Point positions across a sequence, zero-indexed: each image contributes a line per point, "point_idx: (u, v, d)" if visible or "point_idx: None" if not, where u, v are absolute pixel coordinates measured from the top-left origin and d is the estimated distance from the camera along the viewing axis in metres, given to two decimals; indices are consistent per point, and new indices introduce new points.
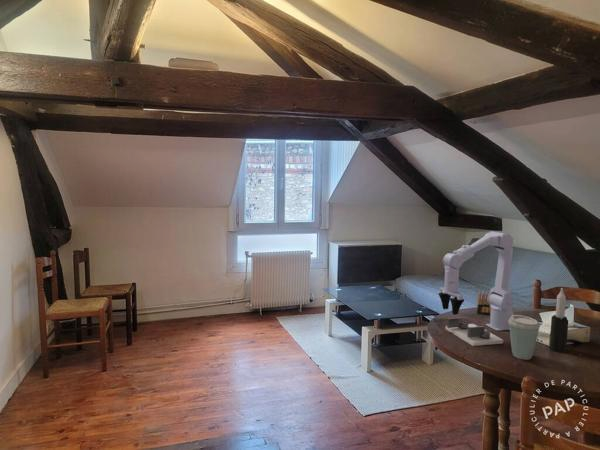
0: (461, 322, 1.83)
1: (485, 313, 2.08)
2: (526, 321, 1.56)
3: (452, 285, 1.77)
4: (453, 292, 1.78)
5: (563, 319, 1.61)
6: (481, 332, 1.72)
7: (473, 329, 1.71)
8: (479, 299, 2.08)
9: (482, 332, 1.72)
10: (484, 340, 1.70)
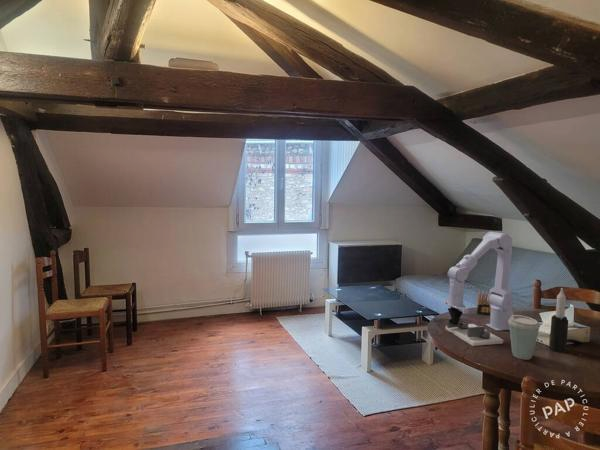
0: (461, 322, 1.83)
1: (485, 313, 2.08)
2: (526, 321, 1.56)
3: (458, 298, 1.78)
4: (458, 305, 1.78)
5: (563, 319, 1.61)
6: (481, 332, 1.72)
7: (473, 329, 1.71)
8: (479, 299, 2.08)
9: (482, 332, 1.72)
10: (484, 340, 1.70)
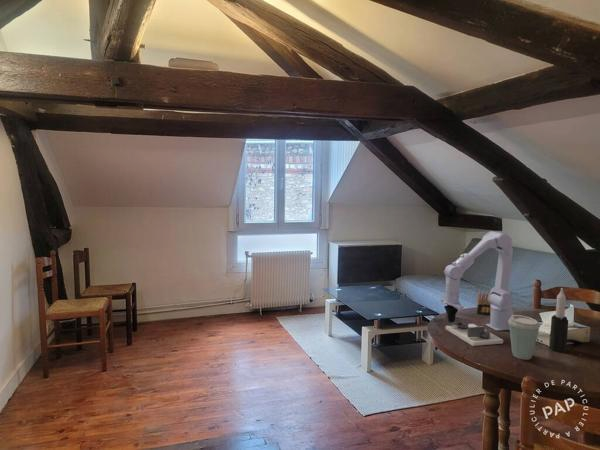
0: (459, 321, 1.84)
1: (485, 313, 2.08)
2: (526, 321, 1.56)
3: (453, 296, 1.81)
4: (454, 303, 1.81)
5: (563, 319, 1.61)
6: (481, 332, 1.72)
7: (473, 329, 1.71)
8: (479, 299, 2.08)
9: (482, 332, 1.72)
10: (484, 340, 1.70)
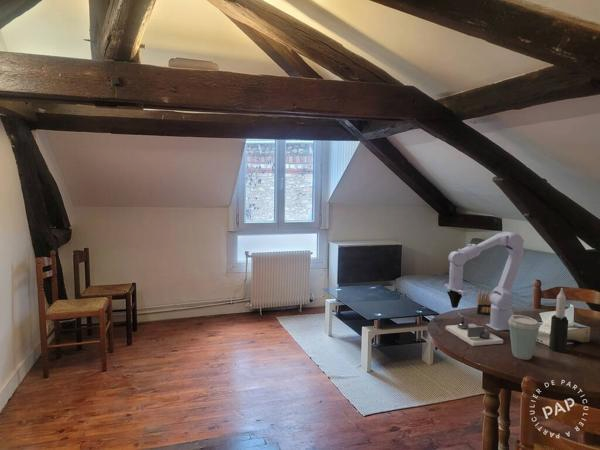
0: (460, 320, 1.86)
1: (485, 313, 2.08)
2: (526, 321, 1.56)
3: (457, 281, 1.85)
4: (457, 288, 1.85)
5: (563, 319, 1.61)
6: (481, 332, 1.72)
7: (473, 329, 1.71)
8: (479, 299, 2.08)
9: (482, 332, 1.72)
10: (484, 340, 1.70)
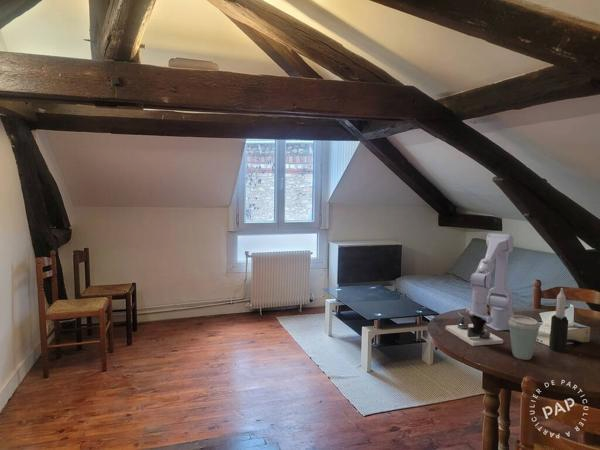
0: (460, 320, 1.86)
1: None
2: (526, 321, 1.56)
3: (481, 306, 1.67)
4: (482, 314, 1.67)
5: (563, 319, 1.61)
6: (481, 332, 1.72)
7: (473, 329, 1.71)
8: None
9: (482, 332, 1.72)
10: (484, 340, 1.70)
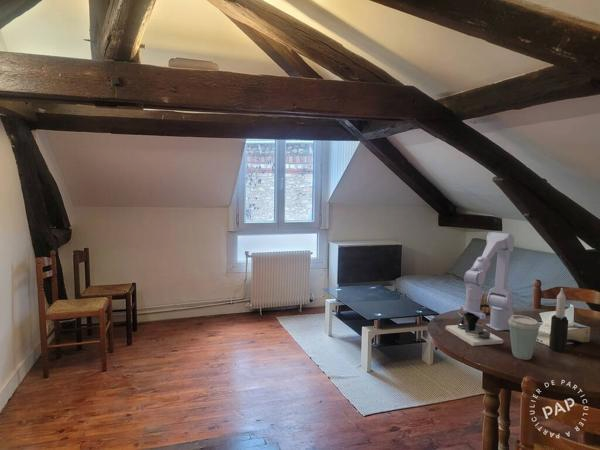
0: (460, 320, 1.86)
1: (485, 313, 2.08)
2: (526, 321, 1.56)
3: (474, 303, 1.70)
4: (475, 310, 1.70)
5: (563, 319, 1.61)
6: (479, 331, 1.74)
7: None
8: None
9: (480, 331, 1.73)
10: (484, 340, 1.70)
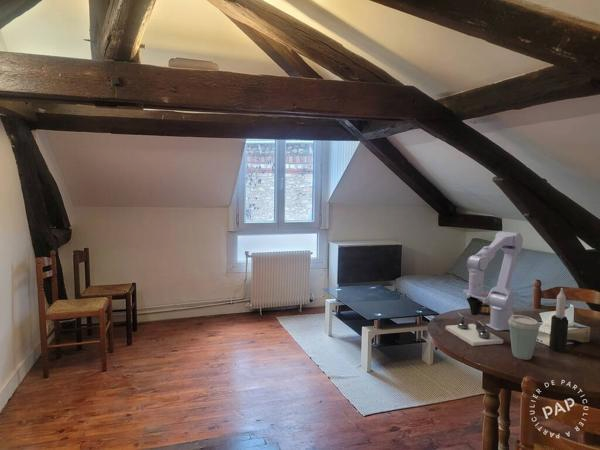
0: (460, 320, 1.86)
1: (485, 313, 2.08)
2: (526, 321, 1.56)
3: (477, 287, 1.74)
4: (478, 295, 1.74)
5: (563, 319, 1.61)
6: (481, 330, 1.75)
7: (477, 323, 1.79)
8: None
9: (481, 330, 1.75)
10: (484, 340, 1.70)
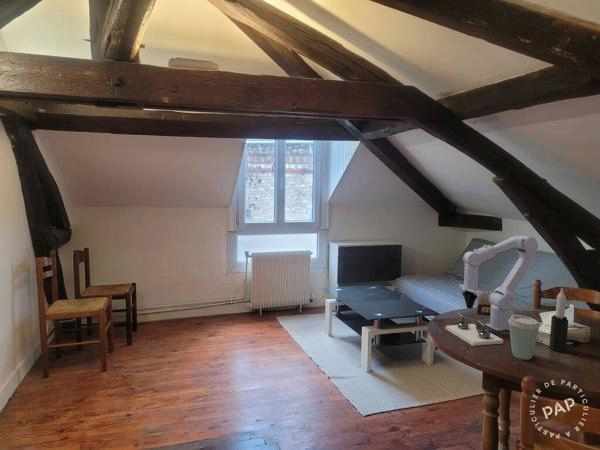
0: (460, 320, 1.86)
1: (485, 313, 2.08)
2: (526, 321, 1.56)
3: (472, 282, 1.84)
4: (473, 289, 1.84)
5: (563, 319, 1.61)
6: (481, 330, 1.75)
7: (477, 323, 1.79)
8: (479, 299, 2.08)
9: (481, 330, 1.75)
10: (484, 340, 1.70)
